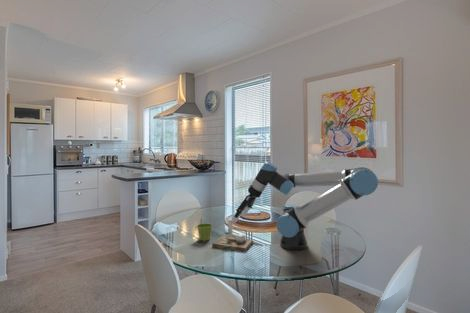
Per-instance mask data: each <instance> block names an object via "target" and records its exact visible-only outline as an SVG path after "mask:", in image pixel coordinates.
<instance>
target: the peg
mask: <svg viewBox="0 0 470 313" xmlns="http://www.w3.org/2000/svg"><path fill="white" fill-rule="evenodd" d="M231 220H232V218H230V219H227V232H225V235H228V237H234V238H236V242H239V243H243V242H245V241H246V240H245V239H246V234H245V233H235V232H234V230H233V226H234V225H233V224H234V222H233V221H231Z"/></svg>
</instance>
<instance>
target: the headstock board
mask: <svg viewBox="0 0 470 313" xmlns="http://www.w3.org/2000/svg"><path fill="white" fill-rule="evenodd" d="M245 240H246V241H245V242H243V243H239V242H236V238H234V237H230V236H225V235H222V236H220V237H219V238H217V239H216V240H215V241H214V242H212V243H211V247H212V248H215V249H224V250H232V251H238V252H246V251H247V250H248V249H249V248H250V247H251V246H252V245H253V244H254V239H252V238H251V239H249V238H245Z"/></svg>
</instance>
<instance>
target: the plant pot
mask: <svg viewBox="0 0 470 313" xmlns="http://www.w3.org/2000/svg"><path fill="white" fill-rule="evenodd" d="M212 227H213V225H212V224H211V223H199V224H197V225H196V228H197V230H198V235H199V241H203V242H207V241H209V240H210V238H211V232H212V231H211V230H212Z"/></svg>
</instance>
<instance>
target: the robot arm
mask: <svg viewBox="0 0 470 313" xmlns="http://www.w3.org/2000/svg"><path fill="white" fill-rule="evenodd" d="M277 170H278V168H277V167H276V165H274V164H273V163H271V162H268V161H266V162H264V163H263V164H262V166H261V167H260V169H259V171H258V173H257V175H256V176H255V178H253V179H252V183H251V184H250V186H249V187H248V189H247V191H248V193H249V194H247V195H246V196H245V198H244V199H243V201H242V202H241V203H240V205H239V206H238V208H236V209H235V213H234V215H233V216H232V218H231V219H232V220H231V221H233V224H237V221H238V219H240V216H242V217H243V218H245V217H246V216H247V214H248V212H249V211H250V209H253V205H254V204H255V201H256V199H257V198H260V197H261V195H262V194H263V192H265V190H266V188H267V186H268V184H269V185H271V187H273V188H274V189H276V190H277V191H279V192H280V193H281V194H284V195H286V196H287V195H289V193H290V192H291V191H292V190H293V188H308V187H309V188H310V187H332V188H331V189H329V190H327V191H325V192H324V193H321V195H318V196H316V197H315V198H314V199H312V200H310V201H308V202H307V203H305V204H303V205H294V204H293V205H292V204H291V205H290V204H288V205H287V204H286V205H285V204H284V205H283V208H282V213H281V215H280V216H278V218H277V219H276V220H277V221H276V222H275V224H276V226H275V227H276V230H277V232H278V234H280V235H281V237H280V240H279V246H280V247H281V248H283V249H285V250H289V251H302V250H305V249H307V247H308V242H307V239H306V238H307V237H306V235H305V229H306V228H307V227H309V223H310V222H312V221H314V220H316V219H318V218H320V217H321V216H323V215H325V214H326V213H328V212H330V211H332V210H334V209H335V208H338V207H339V206H341V205H343V204H344V203H346V202H348V201H349V200H355V201H357V200H358V199H360V198H362V197H364V196H368V195H371V194H373V193H375V191H376V190H377V188H378V185H379V180H378V177H377V175H376V173H374V172H373V170H372V169H369V168H367V167H356V168H350V169H349V168H348V169H343V170H342V171H328V172H327V171H326V172H325V171H323V172H307V173H284V174H280V173H279V172H278V171H277Z"/></svg>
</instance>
